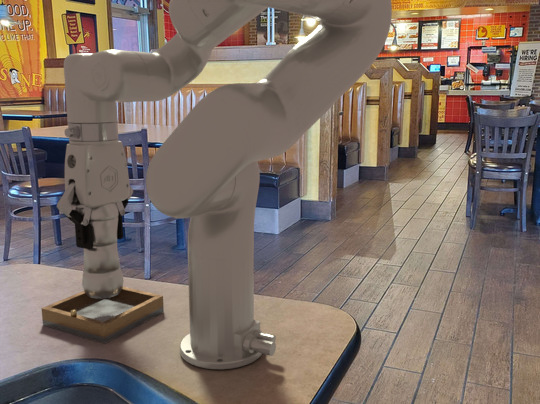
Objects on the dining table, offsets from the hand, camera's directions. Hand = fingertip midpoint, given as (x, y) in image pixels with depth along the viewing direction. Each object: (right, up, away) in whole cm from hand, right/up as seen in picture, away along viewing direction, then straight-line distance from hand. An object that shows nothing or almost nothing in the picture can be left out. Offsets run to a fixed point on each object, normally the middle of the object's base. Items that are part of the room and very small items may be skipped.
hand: (100, 241), depth 89 cm
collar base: (0, -13, +3) cm, 14 cm away
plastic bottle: (0, -10, +2) cm, 10 cm away
